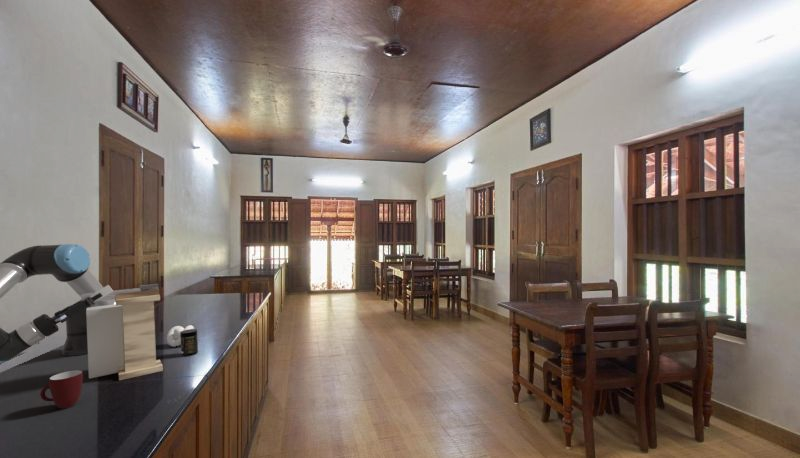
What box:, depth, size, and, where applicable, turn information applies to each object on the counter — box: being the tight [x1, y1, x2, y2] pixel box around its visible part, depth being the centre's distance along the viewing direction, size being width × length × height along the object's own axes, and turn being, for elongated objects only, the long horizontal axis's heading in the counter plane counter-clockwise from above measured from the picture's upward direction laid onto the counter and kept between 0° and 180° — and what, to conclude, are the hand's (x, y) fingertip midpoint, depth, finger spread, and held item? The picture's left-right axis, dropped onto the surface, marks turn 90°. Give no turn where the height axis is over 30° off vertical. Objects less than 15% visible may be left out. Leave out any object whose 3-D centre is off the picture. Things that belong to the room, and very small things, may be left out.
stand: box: [115, 288, 164, 381], centre depth 151 cm, size 10×14×32 cm
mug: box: [39, 369, 84, 410], centre depth 121 cm, size 11×8×10 cm
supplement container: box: [180, 328, 199, 357], centre depth 171 cm, size 7×7×10 cm
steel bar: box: [80, 283, 160, 302], centre depth 147 cm, size 3×24×4 cm, turn 128°
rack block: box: [86, 304, 124, 379], centre depth 152 cm, size 8×11×26 cm
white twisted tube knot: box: [166, 324, 195, 348], centre depth 186 cm, size 11×12×9 cm
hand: (110, 288), depth 145 cm, fingers closed on steel bar, 3 cm apart
